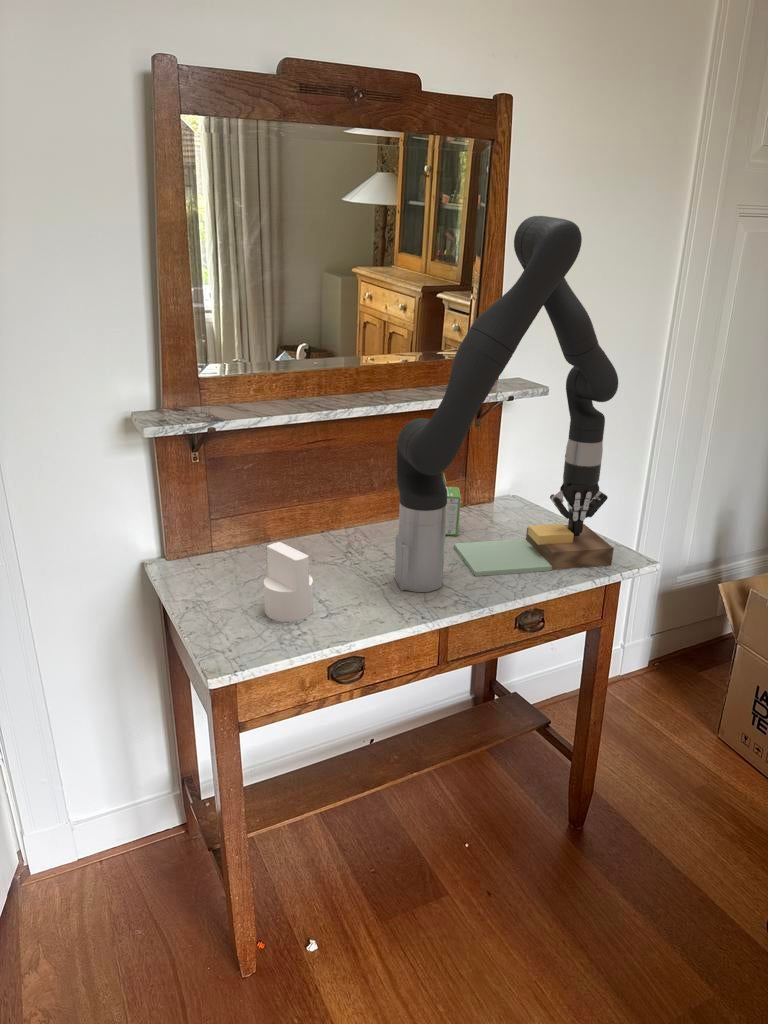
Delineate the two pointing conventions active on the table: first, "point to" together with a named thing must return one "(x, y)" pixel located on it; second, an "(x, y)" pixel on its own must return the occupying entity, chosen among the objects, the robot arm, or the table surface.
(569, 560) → the brown wooden block
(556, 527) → the tile
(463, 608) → the table surface
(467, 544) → the mat
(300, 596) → the base with upright slab
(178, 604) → the table surface
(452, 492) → the ink box
